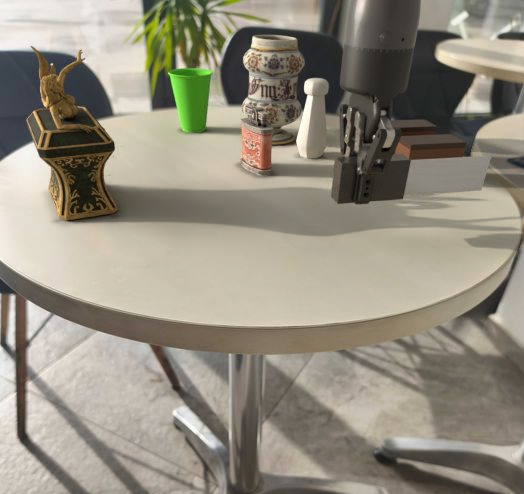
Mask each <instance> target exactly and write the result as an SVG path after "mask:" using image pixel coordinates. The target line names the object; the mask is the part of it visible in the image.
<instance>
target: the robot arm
mask: <svg viewBox="0 0 524 494" xmlns="http://www.w3.org/2000/svg"><path fill="white" fill-rule="evenodd" d="M421 9H422V0H349V5H348V9H347V13H346V22H345V30H344V38H343V39H344V40H343V47H342V49H343V50H342V56H341V57H342V58H341V66H340V67H341V69H340V75H339V86H340V89H342V90H343V91H345V92H347V93H350V96H349V100H348V103H340V105H339V108H338V113H339V115H338V116H339V142H340V143H339V144H340V145H339V146H340V154H341V155H342V156H343V155H344V157H350V156H358V159H357V173H356V179H355V186H354V193H353V202H354V203H353V204H355V205H368V204H369V203H371V202H370V201H371V196H372V190H373V184H374V178H375V175H376V174H382V173H385V172H386V170H387V168H388V165H389V163H390V161H391V159H392V156H393V154H394V152H395V150H396V147H397V145H398V143H399V141H400V138H401V134H402V132H401V129H400V128H392V125H391V123H390V122H391V120H392V119H393V118H392V117H393V100H394V98H395V97H396V96H397V95H401V94H403V93H405V92H406V90H407V89H408V86H409V85H408V84H409V79H410V74H411V68H412V63H413V58H414V52H415V46H416V40H417V36H418V31H419V26H420V20H421V19H420V18H421ZM365 156H367V158H366V160H365ZM380 159H381V161H380Z"/></svg>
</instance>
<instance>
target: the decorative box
mask: <svg viewBox="0 0 524 494" xmlns="http://www.w3.org/2000/svg"><path fill="white" fill-rule="evenodd" d="M30 48H31V49H32V51H33V52H34V53H35V54H36V56H37V59H38V63H39V69H38V74H39V81H40V84H39V85H40V86H39V91H40V97H41V102H42V104H43V106H44V107H45V108H38V109H35V110H33V111H32V112H31V114H30V115H29V116H28V117H27V118H26V119H25V121H26V124H27V128H28V130H29V133H30V136H31V138H32V142H33V144H34V147H35V149H36V152H37V153H38V157H39V158H40V159H41V161H43V162H44V163H45V164H47V166H49V167H50V178H49V183H48V193H49V195H50V198H51V200H52V203H53V206H54V209H55V211H56V214H57V216H58V219H59V220H64V221H72V220H79V219H86V218H91V217H92V218H93V217H99V216H106V215H112V214H114V213H115V214H116V212H118V211H119V208H118V205H116V203H115V201H114V199H113V197H112V195H111V194H110V192H109V189H108V187H107V185H106V181H105V167H106V163H107V162H108V160H109V159H110V157H112V155H113V153H114V152H115V150H116V145H115V144H116V143H115V141H114V139H113V138H112V137H111V136H110V134H109V132H107V131H106V129H105V127H103V126H102V124H101V122H99V121H98V120H97V118H96V117H95V116H94V114H93V113H92V112H90V110H88V109H87V107H85V106H79V105H77V106H76V99H75V97H74V96H73V95H71V94H68V93H65V88H64V82H65V79H66V75H68V74H69V73H70V72H71V71H72V70H73V69H74V68H75V67H76V66H78V65H80V64H81V63H82V62H84V61H86V57H84V58H82V54H83V51H82V50H83V49H79V51H78V52H77V57H76V61H73V62H72V63H70V64H68V65H66V66H65V67H63V68H62V69H61V71H60V72H59V75H57V71H56V67H55V65H54V63H50V64H49V63H48V61H47V59H46V58H45V57H44V55H43V54H42V53H41V52H40V51H39V50H37V48H35V47H34V46H32V45H30Z"/></svg>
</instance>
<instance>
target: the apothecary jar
mask: <svg viewBox="0 0 524 494" xmlns="http://www.w3.org/2000/svg"><path fill="white" fill-rule="evenodd" d="M298 43H299V42H298V39H297V38H296V37H294V36H288V35H280V34H279V35H278V34H255V35H252V39H251V44H250V48H249V49H248V50H247V51H246V52H245V53H244V55H243V57H242V63H243V67H244V68H245V69H246V70H247V71H248V92H247V96H246V97H245V99H244V100H243V102H242V104H241V113H242V115H243V116H244V118H249V116H250V115H249V114H247V113H245V106H246V105H247V104H250V105H253V106H255V107H256V108H257V107H263V109H264V111H265V112H267V113H268V120H267V124H269V125H271V126H272V127H273V133H272V146H277V145H287V144H290V143H292V142H294V141H295V135H294V134H293V133H291V132H289V131H287V130H285V129H284V128H282V127H284V126H288V125H290V124H293V123H295V122H296V121H297V120H298V119H299V118H300V116H301V115H302V111H303V110H302V105H301V102H300V101H299V100H298V99H297V95H298V91H297V90H298V79H299V73H301V71H302V70H304V67H305V65H306V64H305V63H306V62H305V61H306V60H305V58H304V54H303V53H301V52H300V50H299V47H298Z"/></svg>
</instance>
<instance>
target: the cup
mask: <svg viewBox="0 0 524 494" xmlns="http://www.w3.org/2000/svg"><path fill="white" fill-rule="evenodd" d="M167 74H168V76H169V77H170V83H171V88H172V92H173V96H174V100H175V104H176V110H177V115H178V119H179V123H180V128H181V129H182V131H183V132H185V133H195V134H196V133H202V132H204V131H206V128H207V120H208V119H207V118H208V109H209V100H210V89H211V79H212V75H214V73H213V71H212V70H211V69H206V68H197V67H181V68H174V69H170V70H169V71H168V72H167Z"/></svg>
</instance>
